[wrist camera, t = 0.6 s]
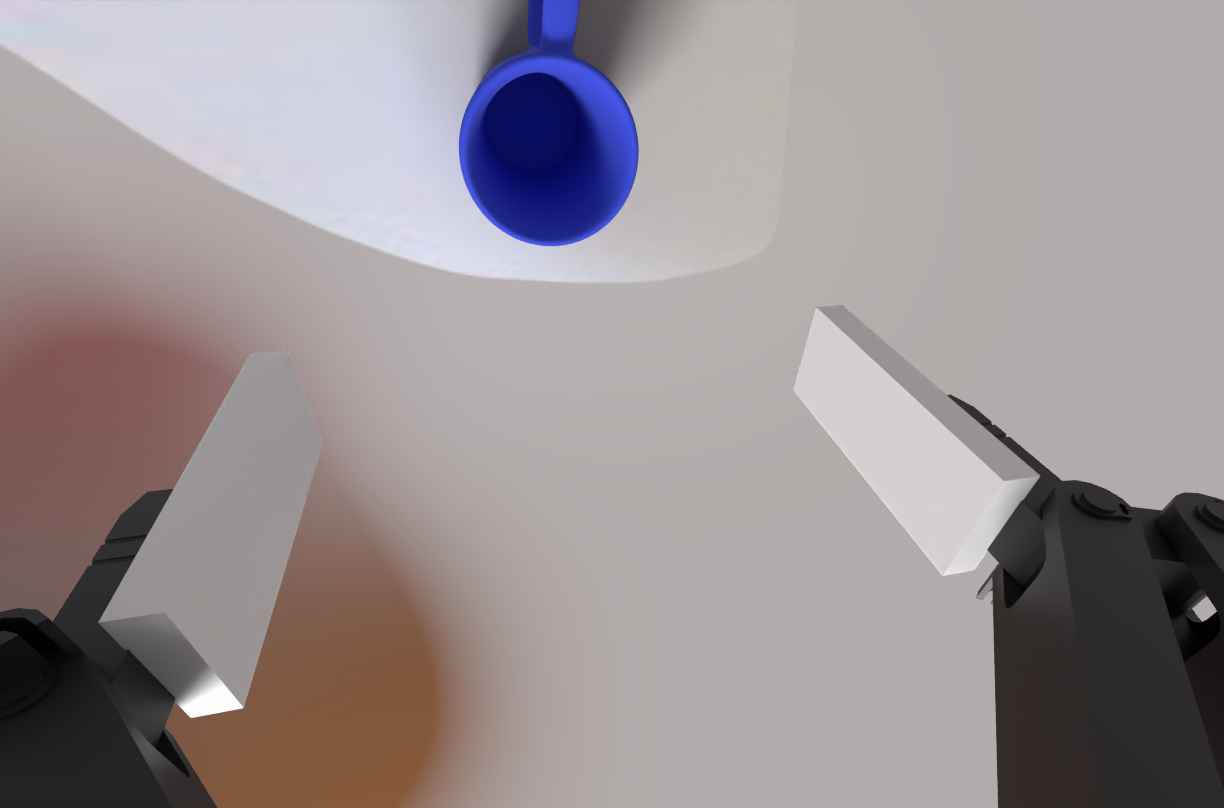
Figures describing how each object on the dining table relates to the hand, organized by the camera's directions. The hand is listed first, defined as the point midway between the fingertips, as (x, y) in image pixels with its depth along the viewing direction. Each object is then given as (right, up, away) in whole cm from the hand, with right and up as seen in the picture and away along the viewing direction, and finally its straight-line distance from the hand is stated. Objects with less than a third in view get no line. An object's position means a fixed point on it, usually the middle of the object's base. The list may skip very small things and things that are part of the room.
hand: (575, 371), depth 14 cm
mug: (-4, +18, +18) cm, 25 cm away
